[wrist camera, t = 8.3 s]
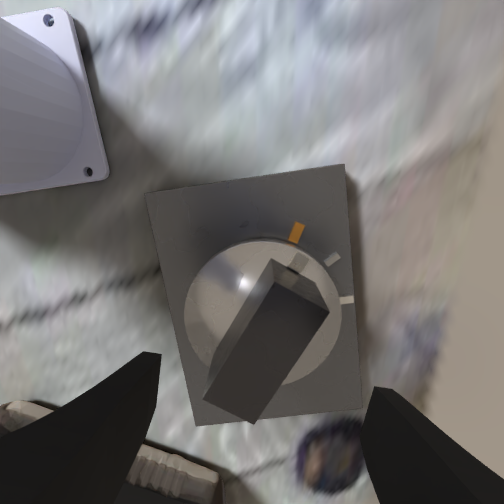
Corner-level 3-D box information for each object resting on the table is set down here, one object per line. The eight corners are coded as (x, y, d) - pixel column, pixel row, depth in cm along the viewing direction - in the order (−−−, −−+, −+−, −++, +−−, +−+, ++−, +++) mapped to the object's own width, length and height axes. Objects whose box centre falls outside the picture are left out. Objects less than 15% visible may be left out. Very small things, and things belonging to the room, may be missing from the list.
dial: (287, 399, 19) (296, 467, 14) (162, 336, 18) (133, 388, 14) (367, 285, 17) (404, 324, 13) (232, 209, 16) (223, 223, 12)
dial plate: (200, 408, 21) (195, 429, 19) (153, 191, 18) (142, 193, 16) (355, 391, 20) (363, 410, 19) (337, 164, 17) (345, 163, 16)
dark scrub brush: (242, 465, 22) (239, 520, 19) (197, 547, 24) (186, 612, 21) (14, 377, 21) (-36, 418, 18) (-15, 471, 23) (-65, 526, 20)
